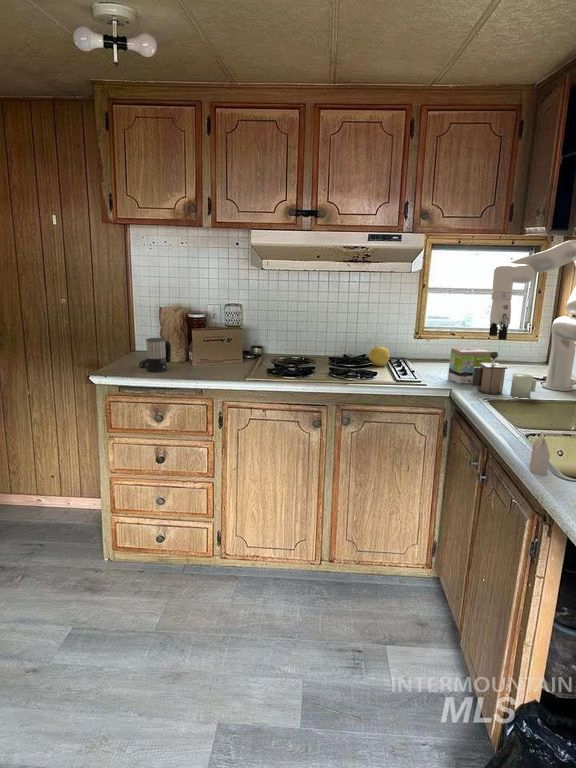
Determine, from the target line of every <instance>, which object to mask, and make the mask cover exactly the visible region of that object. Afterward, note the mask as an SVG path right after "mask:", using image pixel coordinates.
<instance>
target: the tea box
mask: <svg viewBox="0 0 576 768" xmlns="http://www.w3.org/2000/svg"><path fill="white" fill-rule="evenodd" d="M491 352H492V351H489V350H487V349H482V348H480V347H479V348H478V347H477V348H476V347H475V348H474V347H473V348H471V347H469V348H468V347H466V348H464V347H462V348H455V347H453V348H451V350H450V357H449V366H448V373H447V379H448V380H450V381H451V382H454V383H457V384H472V376H473V368H474V367H480V364H479V363H491V362H492V358H491V357H490V353H491Z"/></svg>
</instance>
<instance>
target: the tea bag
mask: <svg viewBox="0 0 576 768" xmlns="http://www.w3.org/2000/svg"><path fill="white" fill-rule="evenodd" d="M531 450H532V451H531V454H530V455H531V456H530V457H531V458H530V463H529V467H530V474H531V475H538V476H544V477H547V475H548V468H549V462H550V456H551V454H550V449H549V446H548V443H547V441H546V439H545V434H544V431H541V433H540V434H539V436H538V437H537V439H536V440H535V441H534V443H533V444H532V449H531Z"/></svg>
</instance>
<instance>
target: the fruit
mask: <svg viewBox="0 0 576 768" xmlns="http://www.w3.org/2000/svg"><path fill="white" fill-rule="evenodd" d="M368 358H369V361H370V360H371V361H372V363H371V364H372V365H373V366H376V367H383V366H386V365H387V364H388V362H389V360H390V350H389V349H388V348H386V347H384V346H375V347H374V348H372V349H371V350H370V352H369V354H368ZM371 361H370V362H371Z"/></svg>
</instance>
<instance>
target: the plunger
mask: <svg viewBox="0 0 576 768" xmlns="http://www.w3.org/2000/svg"><path fill="white" fill-rule="evenodd" d="M490 352H491V353H490V357H491V363H492V366H494V363H496V362H495V361H496V360H495V359H497V358H498V357H499V353H498V351H496V350H493V351H490Z"/></svg>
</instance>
